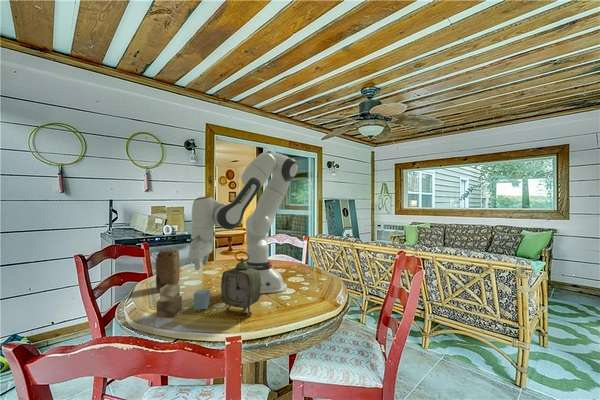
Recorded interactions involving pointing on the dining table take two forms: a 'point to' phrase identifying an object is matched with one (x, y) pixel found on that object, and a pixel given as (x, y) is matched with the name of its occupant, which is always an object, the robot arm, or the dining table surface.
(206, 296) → the slate block
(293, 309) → the dining table surface
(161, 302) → the walnut base block
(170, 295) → the maple top block
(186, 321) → the dining table surface
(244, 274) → the tabletop clock
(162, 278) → the block
